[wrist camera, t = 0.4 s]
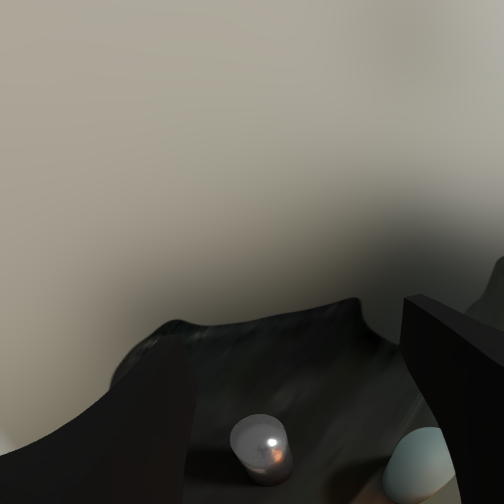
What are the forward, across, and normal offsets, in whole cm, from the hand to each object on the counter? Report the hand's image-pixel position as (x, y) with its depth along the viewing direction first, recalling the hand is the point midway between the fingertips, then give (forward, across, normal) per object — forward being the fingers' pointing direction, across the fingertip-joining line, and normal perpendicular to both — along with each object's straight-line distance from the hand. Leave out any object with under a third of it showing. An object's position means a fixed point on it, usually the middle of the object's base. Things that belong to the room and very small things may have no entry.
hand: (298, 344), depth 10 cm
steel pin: (+7, +3, +20) cm, 21 cm away
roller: (+3, -9, +20) cm, 22 cm away
